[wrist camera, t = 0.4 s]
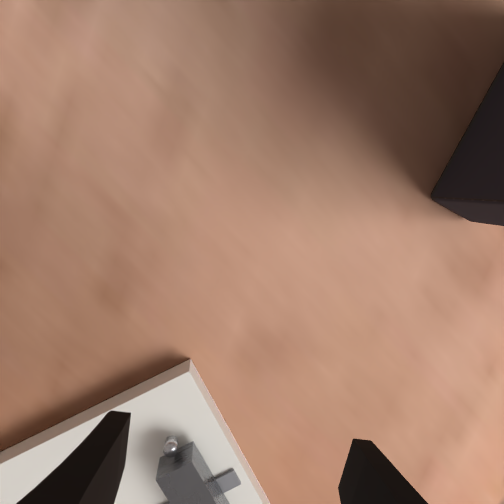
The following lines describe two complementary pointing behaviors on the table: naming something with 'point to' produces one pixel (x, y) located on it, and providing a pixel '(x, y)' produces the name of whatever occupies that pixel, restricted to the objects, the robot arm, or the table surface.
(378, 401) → the table surface
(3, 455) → the board
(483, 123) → the calculator
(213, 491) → the block
